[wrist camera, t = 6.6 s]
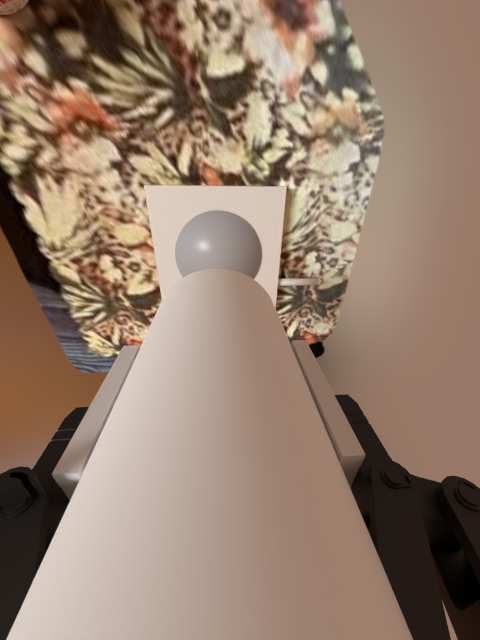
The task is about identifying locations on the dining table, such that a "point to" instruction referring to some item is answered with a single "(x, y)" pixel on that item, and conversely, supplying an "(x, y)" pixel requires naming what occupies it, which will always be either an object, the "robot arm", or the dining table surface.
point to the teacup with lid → (11, 6)
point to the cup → (212, 496)
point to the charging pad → (219, 232)
